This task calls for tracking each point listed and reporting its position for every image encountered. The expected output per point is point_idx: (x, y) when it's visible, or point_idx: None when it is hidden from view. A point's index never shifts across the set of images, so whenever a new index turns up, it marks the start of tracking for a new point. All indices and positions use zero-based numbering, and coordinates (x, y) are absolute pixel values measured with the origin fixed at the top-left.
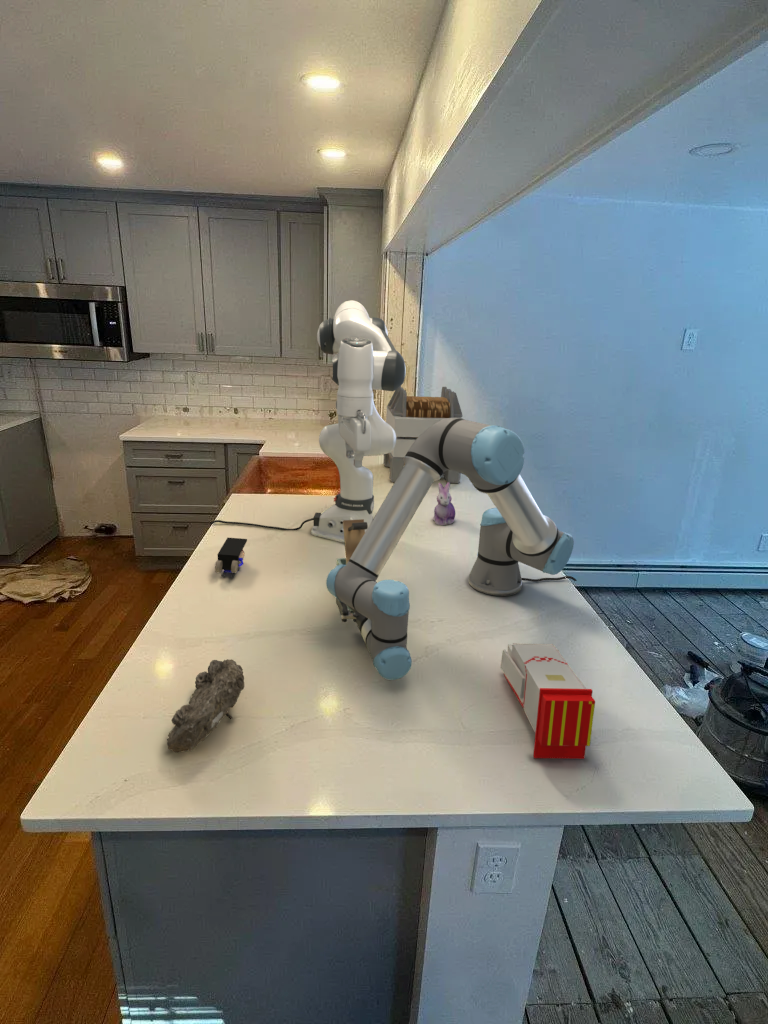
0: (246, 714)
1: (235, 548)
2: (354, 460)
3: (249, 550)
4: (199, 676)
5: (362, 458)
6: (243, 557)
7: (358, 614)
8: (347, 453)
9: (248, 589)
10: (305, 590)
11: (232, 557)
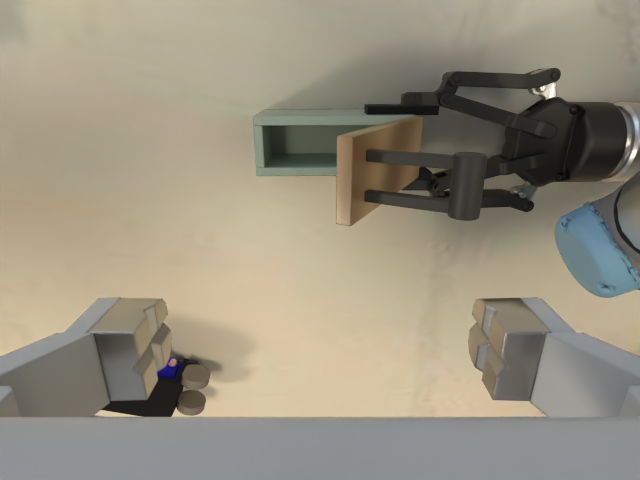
0: None
1: None
2: (531, 397)
3: (53, 326)
4: None
5: (619, 353)
6: None
7: (551, 176)
8: (156, 382)
9: (254, 337)
10: (276, 231)
11: (176, 390)
